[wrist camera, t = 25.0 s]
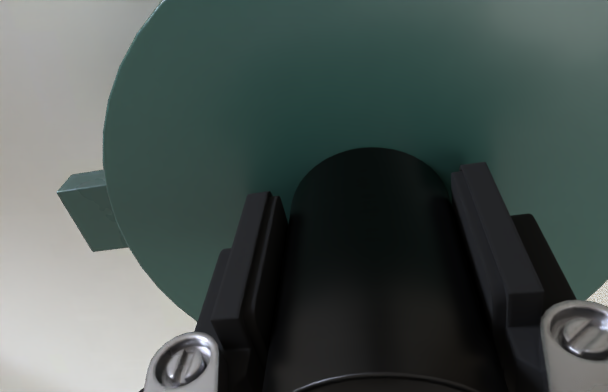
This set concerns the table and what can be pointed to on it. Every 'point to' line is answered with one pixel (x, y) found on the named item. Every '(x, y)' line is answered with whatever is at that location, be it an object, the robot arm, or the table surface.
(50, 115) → the table surface
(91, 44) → the table surface
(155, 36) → the lid
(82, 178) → the pot
